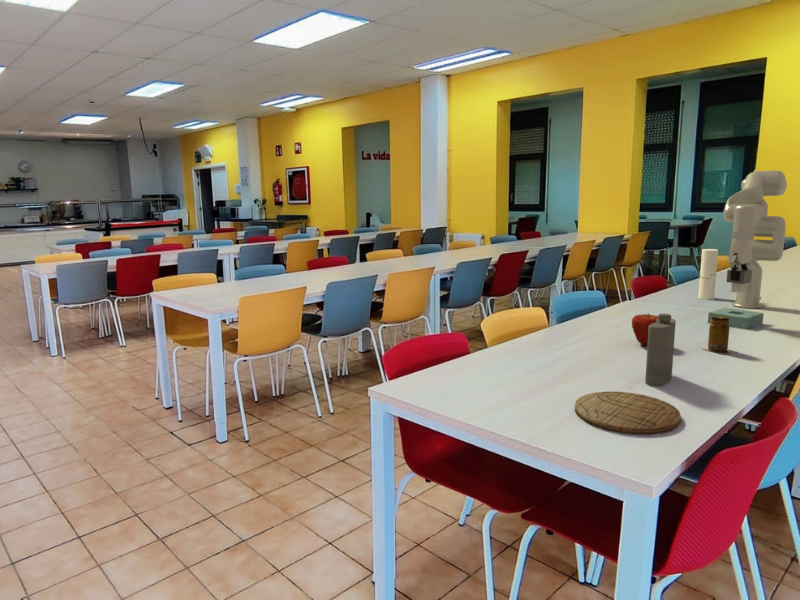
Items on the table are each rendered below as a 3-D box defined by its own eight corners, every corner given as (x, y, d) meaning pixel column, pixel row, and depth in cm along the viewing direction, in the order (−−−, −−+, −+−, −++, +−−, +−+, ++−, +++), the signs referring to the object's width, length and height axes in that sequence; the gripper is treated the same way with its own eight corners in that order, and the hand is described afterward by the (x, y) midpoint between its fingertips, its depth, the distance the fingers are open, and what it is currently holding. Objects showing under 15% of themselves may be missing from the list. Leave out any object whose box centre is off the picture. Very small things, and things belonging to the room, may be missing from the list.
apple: (631, 347, 203) (632, 315, 200) (630, 340, 213) (631, 309, 210) (664, 350, 199) (667, 316, 197) (662, 342, 209) (664, 310, 207)
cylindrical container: (716, 299, 285) (721, 250, 280) (702, 299, 285) (706, 250, 281) (709, 296, 292) (713, 248, 288) (695, 297, 292) (699, 249, 288)
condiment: (715, 346, 202) (717, 314, 200) (737, 352, 195) (741, 318, 192) (701, 349, 199) (704, 316, 197) (724, 355, 191) (727, 321, 189)
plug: (732, 289, 237) (734, 268, 235) (749, 291, 232) (752, 270, 230) (725, 291, 233) (727, 270, 232) (742, 293, 228) (744, 271, 226)
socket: (724, 317, 245) (725, 307, 245) (762, 323, 234) (763, 313, 233) (707, 322, 237) (708, 312, 236) (746, 329, 225) (747, 318, 224)
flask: (664, 388, 161) (669, 320, 158) (643, 384, 165) (647, 318, 161) (675, 374, 173) (679, 310, 170) (655, 371, 177) (659, 308, 173)
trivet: (660, 445, 126) (661, 437, 126) (557, 418, 143) (557, 411, 143) (693, 412, 144) (693, 405, 144) (598, 391, 161) (598, 385, 161)
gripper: (742, 234, 236) (738, 276, 240) (723, 236, 226) (719, 280, 230) (762, 235, 230) (758, 278, 234) (743, 237, 220) (738, 282, 224)
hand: (738, 279), depth 232 cm, fingers closed on plug, 6 cm apart
